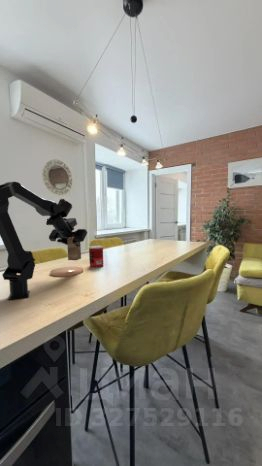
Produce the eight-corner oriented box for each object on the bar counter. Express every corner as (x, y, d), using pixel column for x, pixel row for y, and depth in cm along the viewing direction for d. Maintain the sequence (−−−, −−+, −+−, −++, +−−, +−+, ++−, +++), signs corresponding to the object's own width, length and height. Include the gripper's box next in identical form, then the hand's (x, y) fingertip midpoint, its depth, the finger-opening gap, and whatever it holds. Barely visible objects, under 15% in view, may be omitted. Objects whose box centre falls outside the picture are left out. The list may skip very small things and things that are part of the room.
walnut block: (75, 260, 107) (74, 233, 106) (68, 260, 108) (66, 233, 108) (81, 258, 111) (80, 233, 110) (73, 258, 113) (72, 233, 112)
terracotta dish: (85, 274, 107) (85, 271, 107) (50, 278, 102) (50, 275, 101) (80, 267, 122) (80, 265, 122) (50, 270, 116) (49, 268, 116)
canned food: (105, 264, 128) (104, 245, 127) (100, 267, 121) (99, 247, 120) (93, 264, 130) (92, 245, 129) (87, 267, 123) (86, 247, 122)
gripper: (84, 211, 101) (97, 233, 112) (51, 212, 108) (66, 233, 119) (74, 229, 94) (89, 251, 105) (40, 229, 101) (57, 250, 112)
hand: (75, 245), depth 111 cm, fingers closed on walnut block, 4 cm apart
